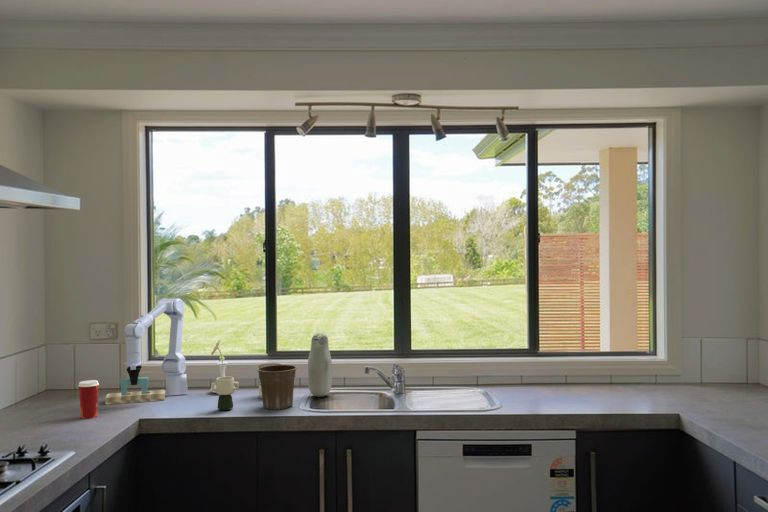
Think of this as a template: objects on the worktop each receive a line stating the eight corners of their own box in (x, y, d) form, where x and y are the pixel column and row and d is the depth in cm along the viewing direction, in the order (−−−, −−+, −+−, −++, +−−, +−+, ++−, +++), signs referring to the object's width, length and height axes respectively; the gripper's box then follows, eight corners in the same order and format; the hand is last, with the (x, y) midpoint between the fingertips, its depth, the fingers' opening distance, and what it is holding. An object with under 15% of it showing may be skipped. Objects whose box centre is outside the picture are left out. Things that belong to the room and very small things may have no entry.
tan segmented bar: (164, 396, 292) (164, 389, 292) (164, 400, 284) (164, 393, 284) (107, 400, 285) (107, 393, 285) (105, 404, 276) (105, 397, 276)
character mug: (239, 407, 269) (238, 375, 269) (238, 410, 262) (238, 378, 262) (212, 408, 266) (211, 377, 266) (211, 412, 259) (210, 380, 259)
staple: (148, 392, 277) (148, 376, 277) (147, 393, 274) (147, 378, 274) (120, 393, 274) (120, 378, 274) (120, 395, 271) (119, 379, 271)
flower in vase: (215, 389, 305) (215, 337, 305) (238, 390, 303) (238, 337, 303) (204, 395, 292) (203, 340, 292) (228, 396, 290) (227, 340, 290)
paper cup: (104, 415, 256) (103, 380, 256) (87, 420, 249) (87, 384, 250) (90, 414, 260) (89, 379, 260) (73, 418, 253) (73, 382, 253)
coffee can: (269, 393, 296) (269, 362, 296) (286, 395, 290) (286, 364, 290) (253, 397, 287) (253, 365, 287) (271, 399, 281) (270, 367, 281)
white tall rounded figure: (304, 397, 286) (303, 334, 286) (319, 393, 294) (318, 331, 295) (321, 399, 280) (320, 335, 281) (336, 395, 289) (335, 333, 289)
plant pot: (261, 412, 258) (261, 372, 258) (254, 404, 273) (253, 366, 273) (301, 408, 264) (300, 369, 264) (292, 400, 279) (291, 363, 279)
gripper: (125, 350, 280) (125, 381, 280) (122, 355, 266) (122, 388, 266) (142, 349, 282) (142, 380, 282) (140, 354, 268) (141, 386, 268)
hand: (134, 384), depth 274 cm, fingers closed on staple, 3 cm apart
